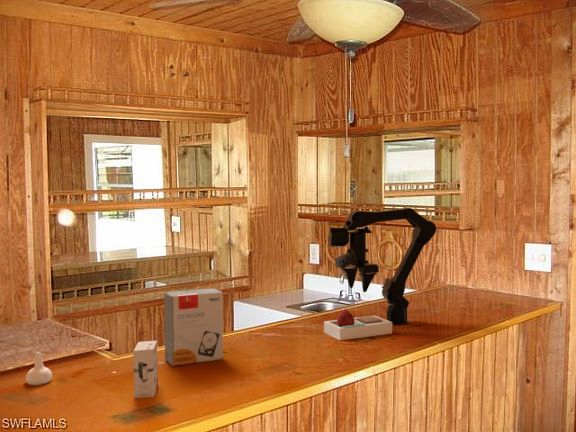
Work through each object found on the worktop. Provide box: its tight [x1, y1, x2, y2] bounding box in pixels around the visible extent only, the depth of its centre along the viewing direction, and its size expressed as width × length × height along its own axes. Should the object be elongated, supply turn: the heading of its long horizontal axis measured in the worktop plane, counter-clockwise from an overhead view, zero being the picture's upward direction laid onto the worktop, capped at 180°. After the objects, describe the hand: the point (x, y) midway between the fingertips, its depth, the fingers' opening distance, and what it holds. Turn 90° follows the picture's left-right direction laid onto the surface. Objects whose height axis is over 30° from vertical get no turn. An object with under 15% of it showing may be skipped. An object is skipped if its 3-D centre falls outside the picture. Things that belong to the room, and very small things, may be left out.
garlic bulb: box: [25, 351, 53, 386], centre depth 159 cm, size 6×6×8 cm
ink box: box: [132, 340, 159, 399], centre depth 151 cm, size 9×5×12 cm, turn 5°
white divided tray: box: [323, 315, 393, 341], centre depth 206 cm, size 20×11×4 cm, turn 114°
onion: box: [336, 307, 355, 327], centre depth 203 cm, size 6×6×8 cm
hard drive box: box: [163, 287, 224, 367], centre depth 177 cm, size 16×8×20 cm, turn 117°
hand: (357, 289), depth 217 cm, fingers open, 9 cm apart
